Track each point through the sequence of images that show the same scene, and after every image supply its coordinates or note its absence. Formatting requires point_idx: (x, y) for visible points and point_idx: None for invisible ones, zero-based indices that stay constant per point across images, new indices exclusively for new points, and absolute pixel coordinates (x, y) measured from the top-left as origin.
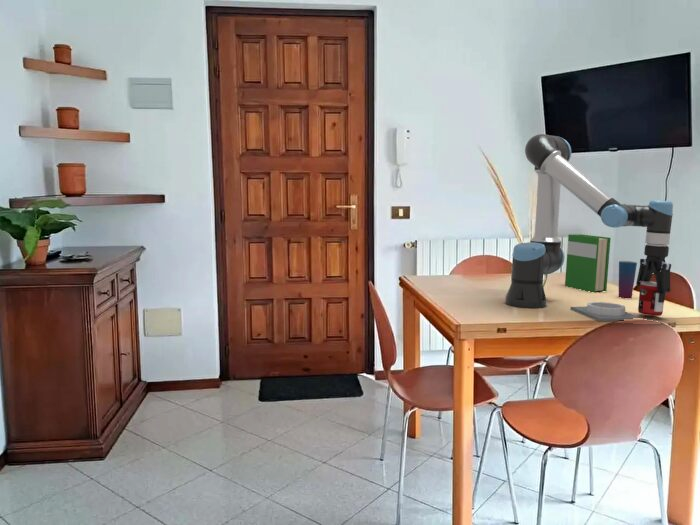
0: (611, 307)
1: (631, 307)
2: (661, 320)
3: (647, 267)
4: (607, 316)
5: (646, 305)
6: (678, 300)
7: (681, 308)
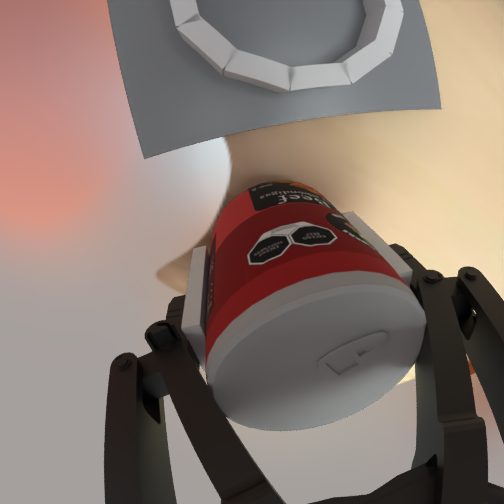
0: (354, 49)
1: (455, 228)
2: (190, 255)
3: (447, 489)
4: None
5: (231, 219)
6: (472, 372)
7: (409, 371)
